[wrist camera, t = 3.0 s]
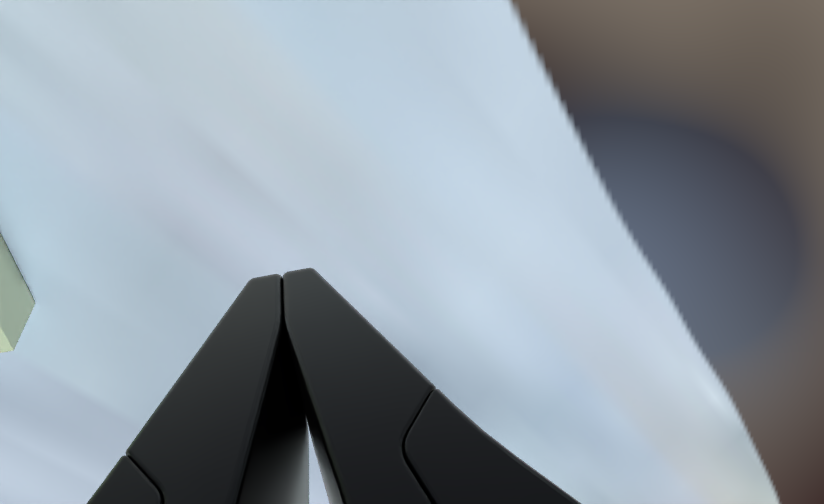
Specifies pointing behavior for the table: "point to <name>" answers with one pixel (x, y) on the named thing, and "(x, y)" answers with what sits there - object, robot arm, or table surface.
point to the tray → (12, 301)
